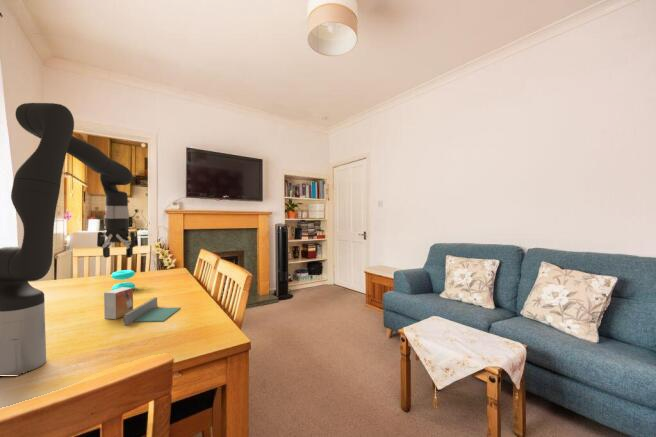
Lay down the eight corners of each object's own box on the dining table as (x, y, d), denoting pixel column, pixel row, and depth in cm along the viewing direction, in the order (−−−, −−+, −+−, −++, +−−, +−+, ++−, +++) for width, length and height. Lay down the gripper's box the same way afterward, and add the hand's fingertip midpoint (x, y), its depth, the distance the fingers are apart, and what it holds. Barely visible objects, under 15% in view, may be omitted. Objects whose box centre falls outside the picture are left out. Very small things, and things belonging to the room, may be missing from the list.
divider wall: (127, 325, 104) (127, 314, 104) (124, 325, 104) (124, 314, 104) (157, 306, 124) (157, 297, 124) (154, 306, 124) (154, 297, 124)
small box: (115, 319, 109) (115, 293, 108) (103, 318, 110) (103, 292, 109) (133, 312, 117) (133, 287, 116) (122, 311, 118) (122, 286, 117)
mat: (163, 321, 108) (163, 320, 107) (133, 321, 107) (133, 320, 107) (180, 308, 121) (180, 307, 121) (154, 308, 121) (154, 307, 121)
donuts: (139, 270, 150) (120, 274, 140) (139, 288, 150) (121, 294, 141) (125, 269, 153) (106, 273, 143) (125, 287, 153) (106, 292, 144)
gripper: (91, 217, 108) (92, 259, 108) (129, 217, 108) (130, 259, 109) (105, 216, 115) (106, 255, 116) (141, 217, 116) (142, 255, 116)
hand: (118, 257), depth 112 cm, fingers open, 8 cm apart
